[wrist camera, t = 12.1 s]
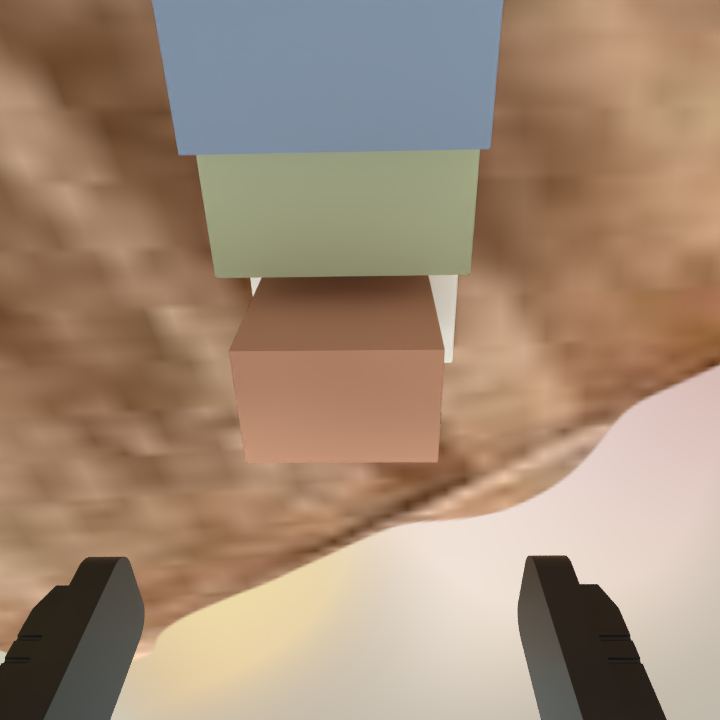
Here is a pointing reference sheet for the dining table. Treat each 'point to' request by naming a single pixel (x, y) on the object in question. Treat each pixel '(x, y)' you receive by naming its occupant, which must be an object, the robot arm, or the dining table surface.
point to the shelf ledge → (336, 133)
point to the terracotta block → (340, 370)
